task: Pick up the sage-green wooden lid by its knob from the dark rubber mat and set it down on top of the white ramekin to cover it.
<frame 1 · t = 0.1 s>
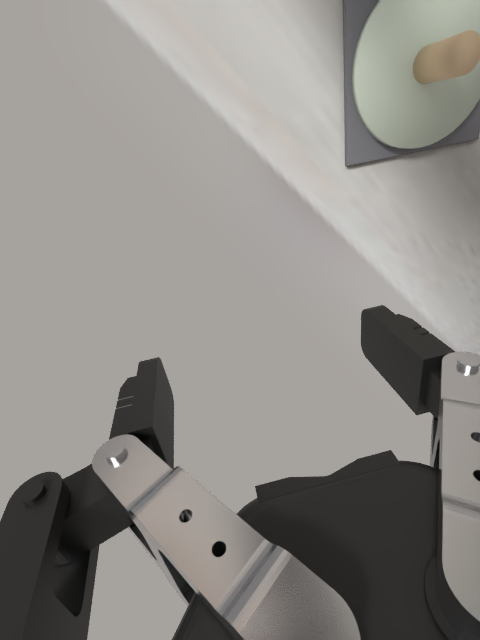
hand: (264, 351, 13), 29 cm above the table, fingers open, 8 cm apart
lid: (420, 67, 35), point 1 cm above the table, touching mat
mat: (416, 68, 35), on the table
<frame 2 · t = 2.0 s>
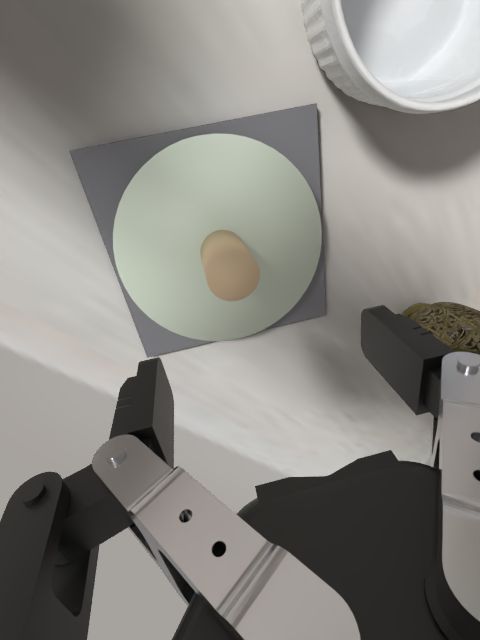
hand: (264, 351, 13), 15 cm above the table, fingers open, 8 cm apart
lid: (220, 247, 25), point 1 cm above the table, touching mat
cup: (412, 316, 33), on the table
mat: (219, 245, 26), on the table
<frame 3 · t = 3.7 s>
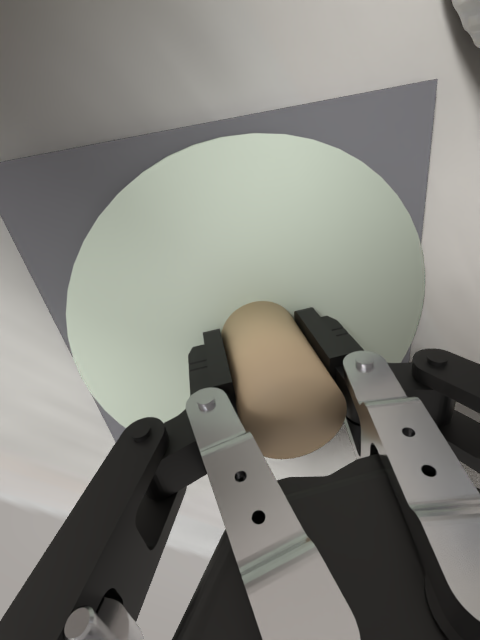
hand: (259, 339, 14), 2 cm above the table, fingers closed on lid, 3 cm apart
lid: (252, 322, 15), point 1 cm above the table, touching gripper, mat
mat: (249, 316, 16), on the table
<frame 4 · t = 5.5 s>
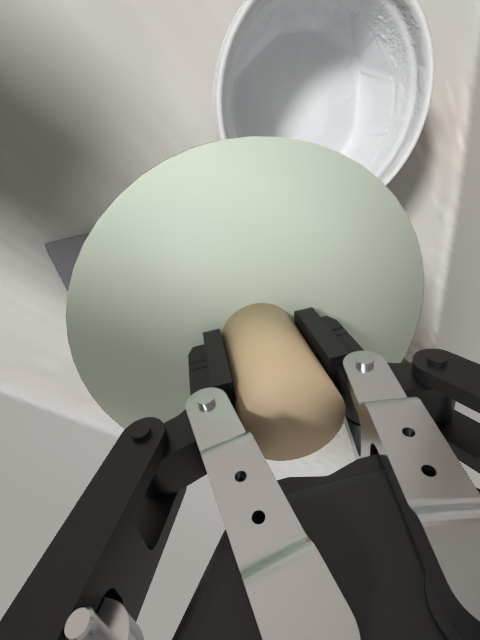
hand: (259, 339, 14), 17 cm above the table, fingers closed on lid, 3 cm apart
lid: (252, 323, 15), point 16 cm above the table, touching gripper
ramekin: (291, 113, 26), on the table
mat: (174, 305, 31), on the table
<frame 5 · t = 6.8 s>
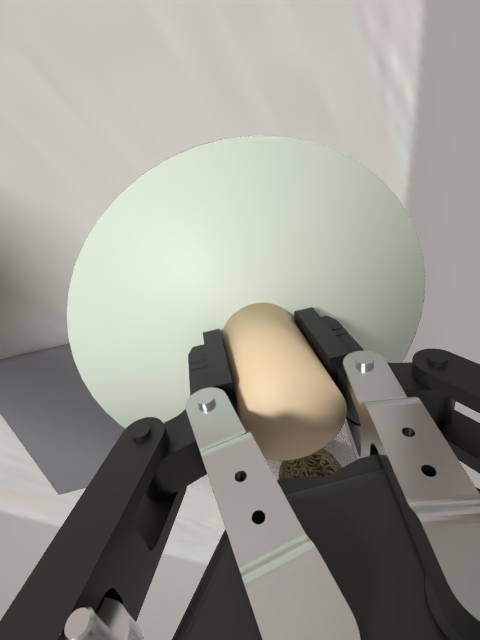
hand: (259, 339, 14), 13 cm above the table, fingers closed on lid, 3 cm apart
lid: (253, 323, 15), point 12 cm above the table, touching gripper
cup: (297, 445, 38), on the table
mat: (110, 413, 31), on the table
when the fingers open (10 cm above the table, at t = 7.6 s): lid drops 2 cm, resting on ramekin.
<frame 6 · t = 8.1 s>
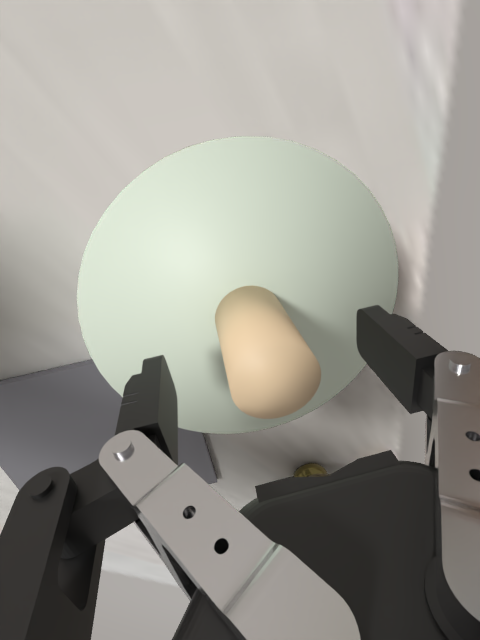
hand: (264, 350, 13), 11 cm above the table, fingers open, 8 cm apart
lid: (244, 306, 17), point 7 cm above the table, touching ramekin
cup: (306, 470, 35), on the table
mat: (104, 440, 28), on the table
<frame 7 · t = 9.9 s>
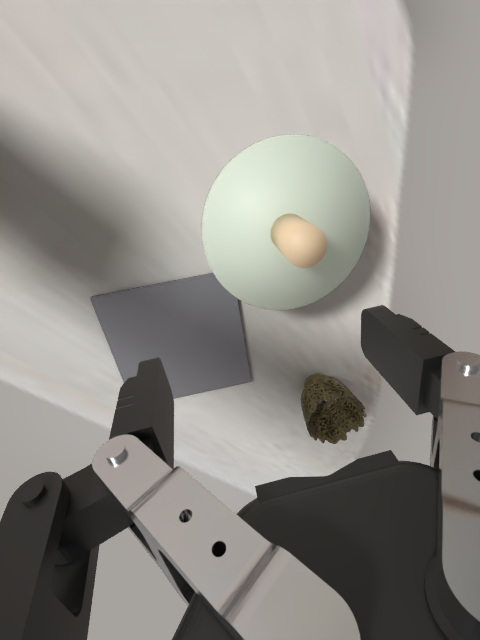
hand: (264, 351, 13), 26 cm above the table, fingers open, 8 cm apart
lid: (284, 229, 30), point 7 cm above the table, touching ramekin
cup: (314, 381, 48), on the table
mat: (179, 341, 42), on the table
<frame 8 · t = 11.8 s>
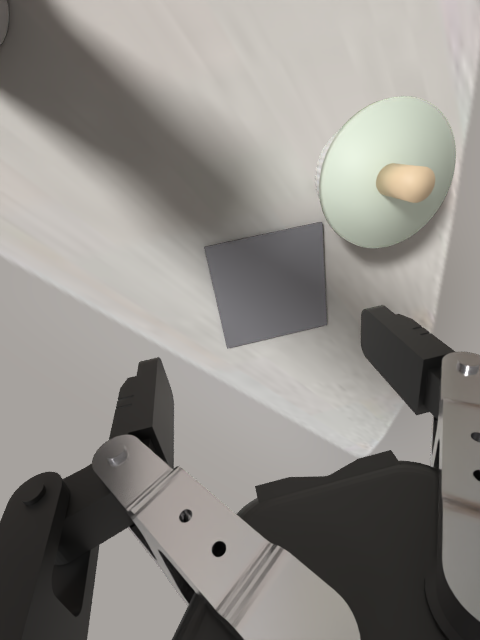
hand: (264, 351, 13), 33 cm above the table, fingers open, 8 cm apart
lid: (384, 178, 37), point 7 cm above the table, touching ramekin
mat: (270, 288, 49), on the table
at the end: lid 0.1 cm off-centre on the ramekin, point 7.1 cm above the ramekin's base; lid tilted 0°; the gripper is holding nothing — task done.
